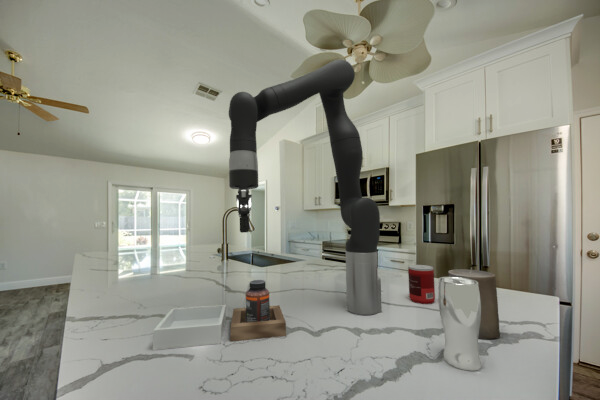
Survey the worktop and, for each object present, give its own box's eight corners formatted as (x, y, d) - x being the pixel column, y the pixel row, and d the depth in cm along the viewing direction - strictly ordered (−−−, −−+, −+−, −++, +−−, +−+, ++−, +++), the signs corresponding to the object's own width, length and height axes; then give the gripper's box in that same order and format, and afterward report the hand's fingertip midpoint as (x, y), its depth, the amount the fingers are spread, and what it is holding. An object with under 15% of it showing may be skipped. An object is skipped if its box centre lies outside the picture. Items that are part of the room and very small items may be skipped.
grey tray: (225, 319, 70) (226, 304, 70) (220, 343, 56) (221, 324, 57) (171, 324, 67) (171, 308, 67) (152, 350, 54) (153, 330, 54)
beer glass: (433, 353, 52) (429, 276, 53) (465, 351, 52) (462, 276, 53) (457, 373, 45) (452, 285, 46) (494, 371, 45) (489, 284, 47)
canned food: (436, 299, 86) (434, 265, 87) (433, 306, 80) (432, 269, 81) (411, 295, 91) (410, 263, 91) (407, 301, 84) (406, 267, 85)
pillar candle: (503, 330, 62) (498, 266, 63) (496, 344, 55) (490, 272, 56) (457, 320, 69) (454, 262, 70) (446, 331, 62) (442, 267, 63)
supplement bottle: (272, 323, 67) (272, 279, 68) (265, 333, 61) (265, 284, 62) (251, 322, 68) (251, 278, 69) (241, 331, 62) (241, 283, 63)
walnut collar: (279, 316, 72) (279, 305, 72) (285, 335, 60) (285, 322, 60) (233, 320, 69) (233, 308, 70) (230, 341, 57) (230, 327, 57)
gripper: (258, 164, 62) (260, 232, 61) (257, 174, 76) (258, 230, 75) (226, 164, 61) (227, 233, 60) (231, 174, 75) (231, 231, 74)
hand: (244, 231), depth 68 cm, fingers open, 8 cm apart
